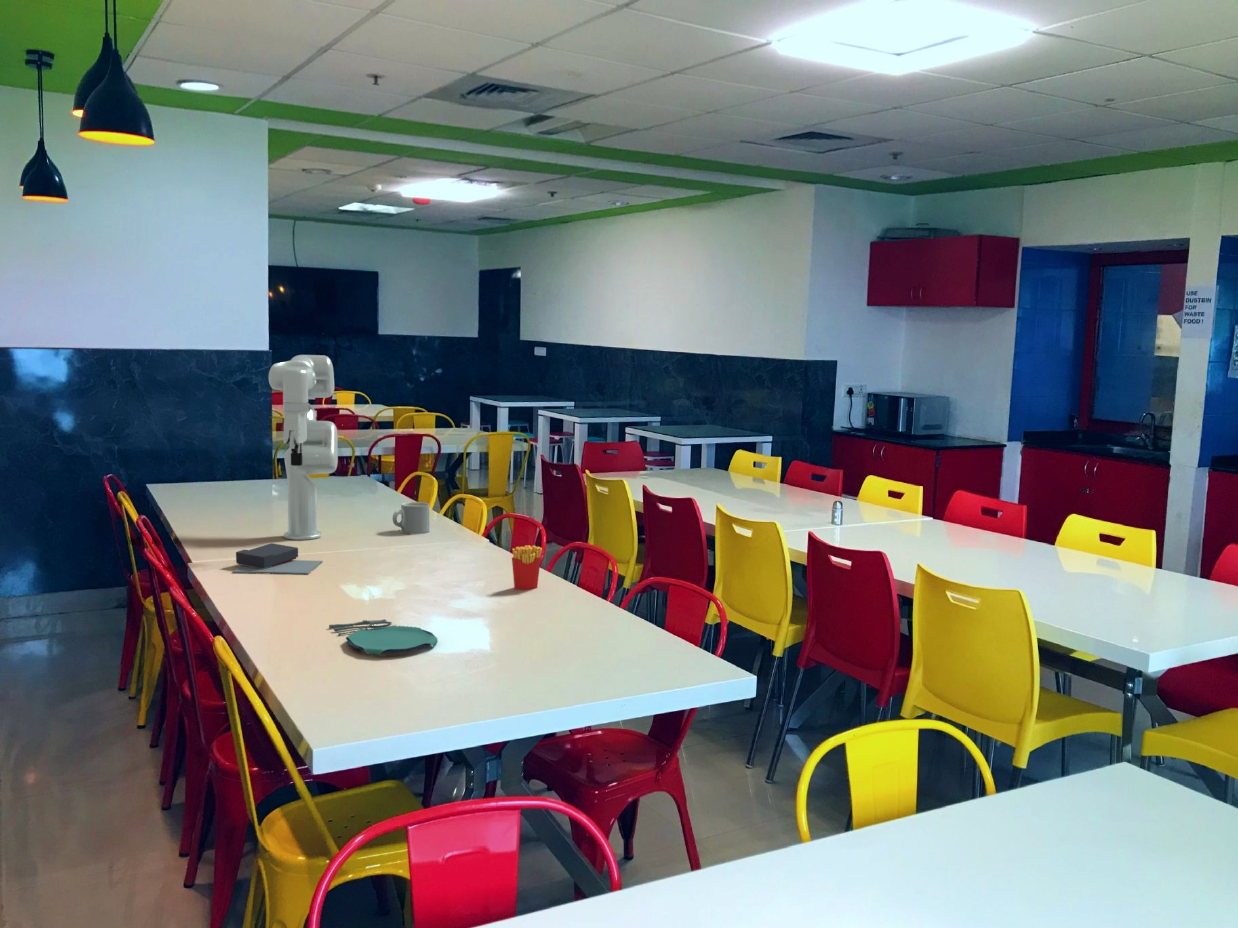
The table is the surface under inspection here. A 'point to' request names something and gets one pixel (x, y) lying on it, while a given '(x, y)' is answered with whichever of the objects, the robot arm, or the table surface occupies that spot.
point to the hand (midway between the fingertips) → (296, 465)
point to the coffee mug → (413, 517)
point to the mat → (283, 568)
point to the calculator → (266, 556)
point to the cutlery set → (386, 637)
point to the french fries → (526, 566)
